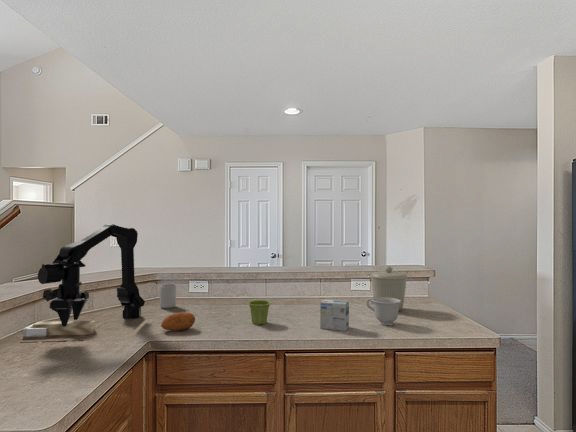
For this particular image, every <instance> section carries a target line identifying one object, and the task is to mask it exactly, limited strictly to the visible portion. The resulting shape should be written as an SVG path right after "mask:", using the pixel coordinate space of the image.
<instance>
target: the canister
mask: <svg viewBox="0 0 576 432" xmlns="http://www.w3.org/2000/svg"><path fill="white" fill-rule="evenodd" d="M369 276H370V279H371V287H372V299H373V298H378V297H388V298H395V299H399V300H401V302H400V304H399V310H398V312H399V311H401V310H402V309H403V306H404V304H405V303H404V302H405V295H406V286H407V279H408V277H409V276H408V275H406V274H405V273H403V272H398V271H393V267H391V266H389V265H387V266H385V267H384V271H382V270H381V271H375V272H373V273H371V274H370V275H369Z"/></svg>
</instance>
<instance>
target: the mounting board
mask: <svg viewBox="0 0 576 432" xmlns="http://www.w3.org/2000/svg"><path fill="white" fill-rule="evenodd" d="M104 323H105V321H96V328H95V329H97V328H98V327H100V326H101V325H103V324H104ZM87 335H88V334H86V335H48V336H47V337H30V338H23V336H22V337H20V339H21V340H23V339H24V340H25V339H58V338H60V339H61V338H66V339H67V338H84V337H86V336H87ZM66 341H67V340H52V341H48V340H47V341H43V343H61V342H63V343H64V342H65V343H67V342H66ZM84 341H85V340H80V342H84ZM19 343H20V344H28V343H29V344H31V343H37V341H21V342H19Z"/></svg>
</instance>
